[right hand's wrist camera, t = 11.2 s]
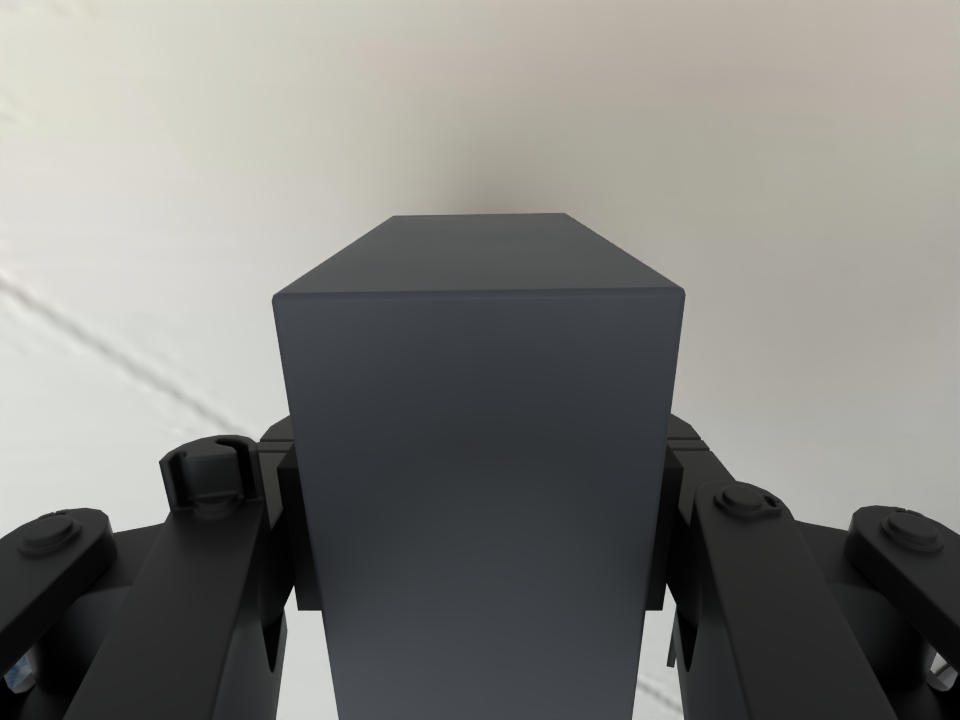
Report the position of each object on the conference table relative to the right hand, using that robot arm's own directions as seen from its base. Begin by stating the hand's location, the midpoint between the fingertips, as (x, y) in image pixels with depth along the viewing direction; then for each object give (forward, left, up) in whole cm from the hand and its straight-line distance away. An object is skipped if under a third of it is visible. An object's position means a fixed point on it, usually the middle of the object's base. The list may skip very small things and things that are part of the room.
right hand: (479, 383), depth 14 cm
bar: (+4, +35, -1) cm, 35 cm away
